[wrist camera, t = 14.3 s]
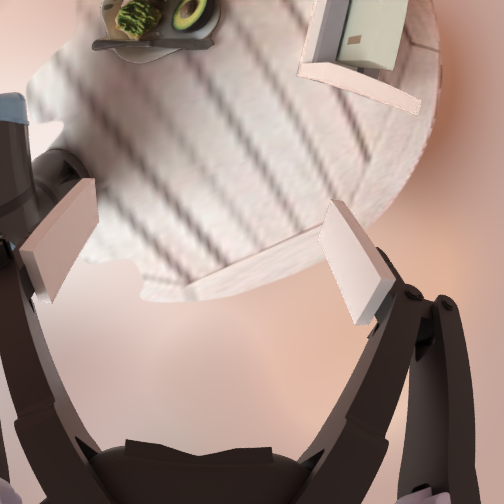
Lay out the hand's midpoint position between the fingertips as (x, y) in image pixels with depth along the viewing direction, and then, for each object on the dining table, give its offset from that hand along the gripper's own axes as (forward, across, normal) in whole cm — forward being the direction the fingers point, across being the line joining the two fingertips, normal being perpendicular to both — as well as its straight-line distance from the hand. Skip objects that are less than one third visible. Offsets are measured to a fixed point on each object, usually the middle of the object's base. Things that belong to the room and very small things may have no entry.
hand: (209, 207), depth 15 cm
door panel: (+28, +16, +20) cm, 38 cm away
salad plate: (+30, -11, +17) cm, 36 cm away
